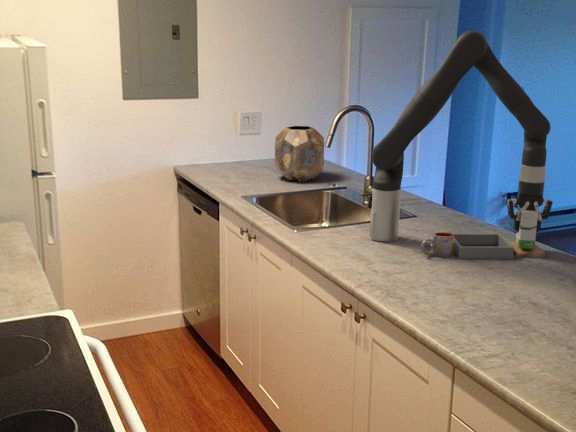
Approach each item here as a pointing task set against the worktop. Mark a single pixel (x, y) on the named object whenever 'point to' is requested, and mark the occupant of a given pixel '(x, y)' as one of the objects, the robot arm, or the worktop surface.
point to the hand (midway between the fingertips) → (526, 231)
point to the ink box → (527, 229)
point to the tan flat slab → (527, 251)
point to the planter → (299, 153)
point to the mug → (440, 245)
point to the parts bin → (482, 252)
